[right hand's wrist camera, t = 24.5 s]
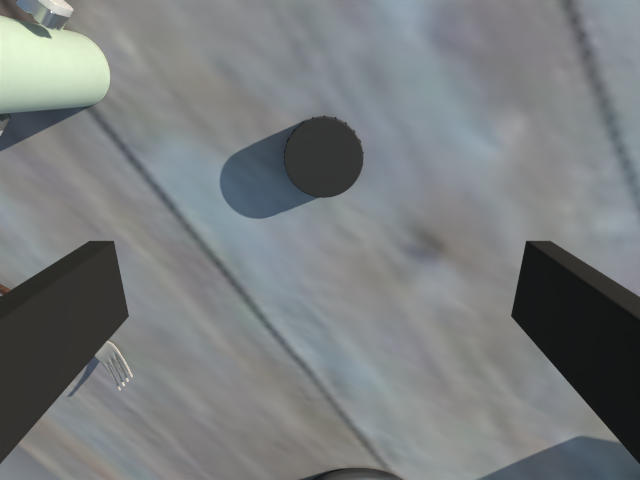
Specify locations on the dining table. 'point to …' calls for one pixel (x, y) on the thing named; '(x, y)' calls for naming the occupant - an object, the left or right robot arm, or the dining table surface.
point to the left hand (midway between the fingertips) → (28, 77)
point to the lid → (323, 157)
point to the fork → (102, 354)
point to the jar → (48, 68)
